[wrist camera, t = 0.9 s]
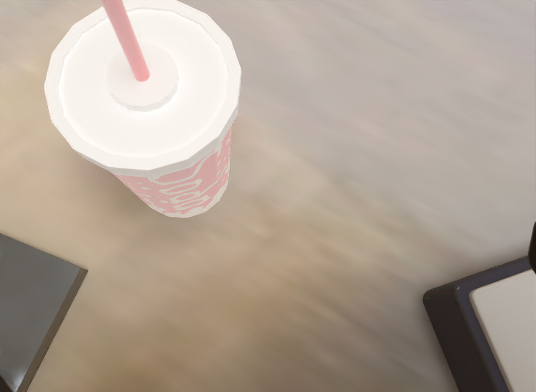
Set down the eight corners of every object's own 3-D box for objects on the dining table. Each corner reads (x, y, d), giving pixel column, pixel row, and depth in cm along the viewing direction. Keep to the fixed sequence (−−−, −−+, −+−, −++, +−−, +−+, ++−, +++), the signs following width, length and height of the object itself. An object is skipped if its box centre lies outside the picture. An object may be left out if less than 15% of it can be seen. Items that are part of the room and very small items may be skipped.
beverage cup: (121, 240, 23) (-67, 97, 9) (117, 121, 24) (-46, -145, 11) (251, 226, 23) (251, 71, 10) (238, 110, 25) (224, -160, 11)
